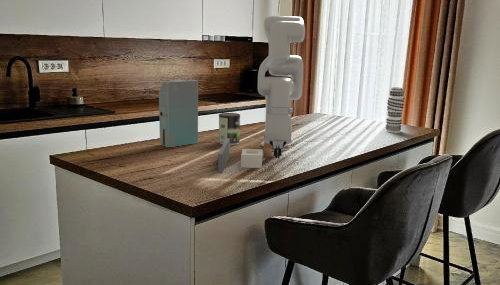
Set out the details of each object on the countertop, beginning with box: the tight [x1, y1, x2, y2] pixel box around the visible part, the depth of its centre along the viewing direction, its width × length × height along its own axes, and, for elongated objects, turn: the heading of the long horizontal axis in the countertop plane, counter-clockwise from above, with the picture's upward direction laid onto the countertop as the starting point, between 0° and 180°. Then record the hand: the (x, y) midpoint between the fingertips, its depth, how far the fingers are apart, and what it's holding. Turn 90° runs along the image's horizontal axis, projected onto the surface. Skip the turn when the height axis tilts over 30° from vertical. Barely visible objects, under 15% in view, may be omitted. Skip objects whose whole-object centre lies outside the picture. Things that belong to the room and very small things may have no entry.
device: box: [158, 79, 199, 148], centre depth 214 cm, size 16×8×30 cm, turn 132°
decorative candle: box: [385, 86, 405, 134], centre depth 261 cm, size 9×9×25 cm
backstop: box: [217, 138, 231, 174], centre depth 181 cm, size 28×18×8 cm, turn 177°
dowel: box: [263, 134, 273, 159], centre depth 194 cm, size 3×3×10 cm
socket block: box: [240, 148, 264, 169], centre depth 182 cm, size 10×8×5 cm
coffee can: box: [218, 112, 241, 146], centre depth 221 cm, size 10×10×14 cm
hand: (277, 157), depth 180 cm, fingers closed
